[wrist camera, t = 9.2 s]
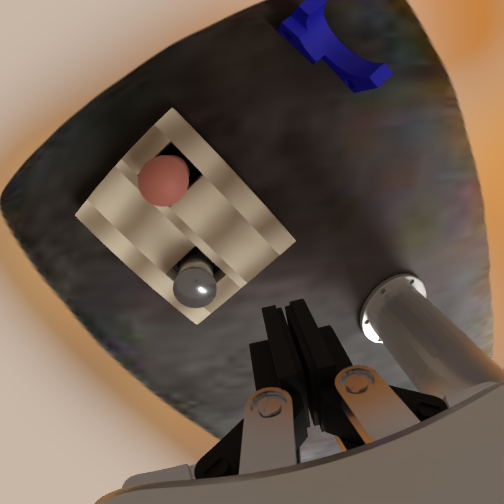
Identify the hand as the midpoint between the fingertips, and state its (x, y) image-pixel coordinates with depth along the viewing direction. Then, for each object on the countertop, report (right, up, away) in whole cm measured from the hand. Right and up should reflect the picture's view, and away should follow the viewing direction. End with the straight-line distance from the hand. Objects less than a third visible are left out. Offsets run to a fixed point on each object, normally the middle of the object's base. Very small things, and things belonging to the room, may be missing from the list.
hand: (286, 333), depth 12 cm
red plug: (-10, +12, +19) cm, 25 cm away
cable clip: (+7, +27, +18) cm, 33 cm away
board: (-9, +7, +23) cm, 26 cm away
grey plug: (-8, +2, +25) cm, 26 cm away
